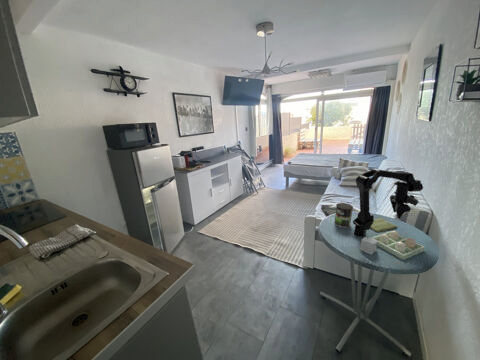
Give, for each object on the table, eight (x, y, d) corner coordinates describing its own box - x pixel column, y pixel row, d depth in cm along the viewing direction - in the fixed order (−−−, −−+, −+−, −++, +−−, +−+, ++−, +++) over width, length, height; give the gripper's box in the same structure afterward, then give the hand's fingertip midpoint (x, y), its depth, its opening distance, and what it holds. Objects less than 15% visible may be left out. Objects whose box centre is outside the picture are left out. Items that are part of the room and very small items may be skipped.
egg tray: (402, 261, 103) (404, 255, 102) (369, 242, 119) (370, 237, 118) (423, 252, 109) (425, 247, 108) (389, 235, 125) (390, 231, 124)
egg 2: (394, 243, 116) (396, 233, 115) (386, 239, 120) (388, 230, 119) (399, 241, 118) (401, 232, 116) (391, 237, 122) (393, 228, 120)
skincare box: (371, 256, 108) (373, 244, 106) (359, 250, 112) (361, 239, 110) (376, 251, 111) (378, 240, 109) (364, 246, 116) (366, 235, 114)
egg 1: (384, 246, 114) (386, 237, 112) (377, 242, 117) (378, 233, 116) (389, 244, 115) (391, 235, 113) (382, 240, 119) (383, 231, 117)
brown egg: (405, 249, 111) (407, 240, 109) (402, 245, 114) (405, 235, 113) (415, 251, 109) (417, 241, 107) (412, 246, 113) (414, 237, 111)
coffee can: (343, 229, 134) (345, 210, 130) (331, 222, 143) (333, 204, 139) (353, 225, 138) (356, 207, 134) (341, 219, 147) (343, 201, 143)
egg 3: (401, 255, 106) (403, 245, 104) (392, 251, 110) (394, 241, 108) (406, 253, 107) (408, 243, 106) (397, 248, 111) (399, 239, 110)
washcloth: (360, 224, 140) (361, 220, 139) (380, 220, 144) (381, 216, 143) (377, 234, 128) (378, 230, 127) (398, 230, 132) (399, 225, 131)
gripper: (424, 199, 109) (418, 224, 113) (413, 188, 125) (408, 211, 129) (399, 196, 113) (394, 221, 118) (391, 186, 129) (387, 208, 134)
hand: (396, 215), depth 125 cm, fingers open, 9 cm apart
